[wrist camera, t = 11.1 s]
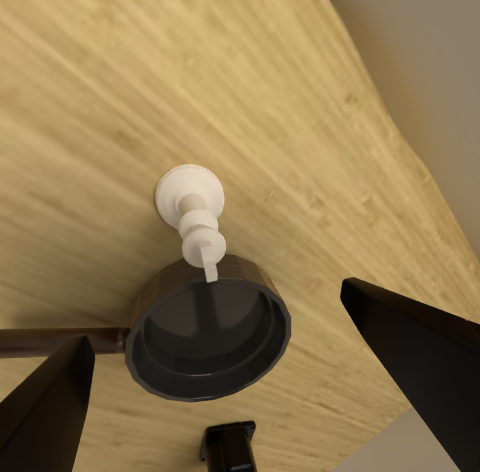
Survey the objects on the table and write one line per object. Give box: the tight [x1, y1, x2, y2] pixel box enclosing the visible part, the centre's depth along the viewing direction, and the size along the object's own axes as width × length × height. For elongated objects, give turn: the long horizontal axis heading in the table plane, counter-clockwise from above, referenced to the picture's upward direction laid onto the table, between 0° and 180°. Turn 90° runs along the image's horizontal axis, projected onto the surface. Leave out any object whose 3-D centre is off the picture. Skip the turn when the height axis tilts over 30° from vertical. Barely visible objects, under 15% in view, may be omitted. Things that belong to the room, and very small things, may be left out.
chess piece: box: [155, 164, 226, 283], centre depth 14 cm, size 5×5×10 cm
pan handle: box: [0, 327, 135, 359], centre depth 17 cm, size 9×2×2 cm, turn 77°
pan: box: [125, 255, 291, 402], centre depth 21 cm, size 13×13×4 cm
